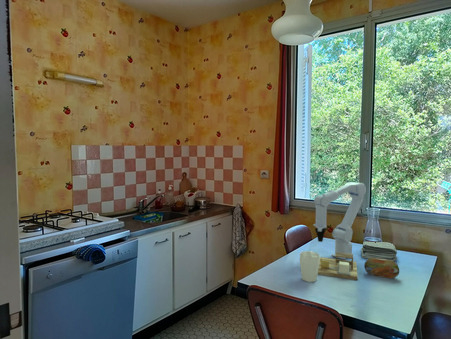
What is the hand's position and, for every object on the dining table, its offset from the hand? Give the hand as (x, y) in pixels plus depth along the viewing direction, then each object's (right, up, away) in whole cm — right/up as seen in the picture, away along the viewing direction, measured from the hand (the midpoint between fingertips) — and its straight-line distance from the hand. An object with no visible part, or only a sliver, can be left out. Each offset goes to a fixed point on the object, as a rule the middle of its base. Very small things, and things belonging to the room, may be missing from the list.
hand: (320, 241), depth 170 cm
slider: (+1, -10, -20) cm, 22 cm away
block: (+5, -10, -22) cm, 24 cm away
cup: (-13, -12, -26) cm, 32 cm away
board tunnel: (+4, -11, -13) cm, 18 cm away
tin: (+23, -12, -21) cm, 34 cm away
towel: (+36, -11, +8) cm, 39 cm away
